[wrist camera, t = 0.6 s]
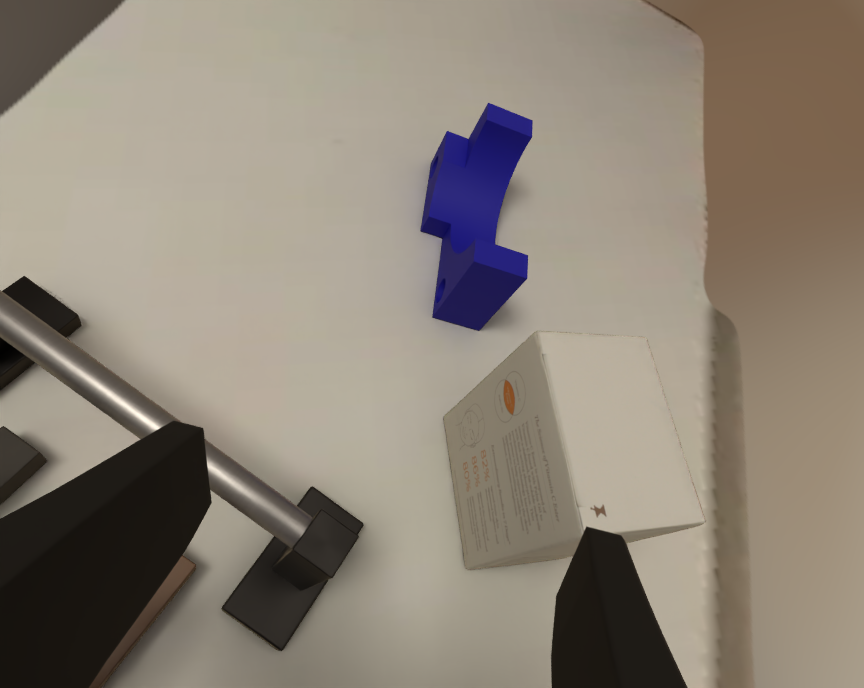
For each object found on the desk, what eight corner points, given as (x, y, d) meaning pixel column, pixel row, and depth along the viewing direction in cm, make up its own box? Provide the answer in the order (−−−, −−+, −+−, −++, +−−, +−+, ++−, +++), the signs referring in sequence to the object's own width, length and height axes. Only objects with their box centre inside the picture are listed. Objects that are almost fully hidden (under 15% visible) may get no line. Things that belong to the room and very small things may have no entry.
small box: (559, 560, 30) (712, 529, 21) (461, 572, 27) (585, 543, 19) (529, 413, 33) (651, 333, 24) (440, 414, 31) (536, 326, 22)
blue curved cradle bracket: (430, 163, 39) (465, 93, 34) (490, 184, 40) (532, 120, 35) (408, 310, 33) (445, 252, 28) (478, 330, 34) (527, 278, 29)
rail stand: (279, 651, 23) (308, 658, 17) (-101, 378, 23) (-215, 281, 17) (359, 527, 27) (409, 494, 20) (29, 286, 26) (-25, 175, 20)
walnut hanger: (19, 791, 19) (-56, 856, 14) (-26, 760, 19) (-118, 813, 14) (196, 568, 24) (195, 548, 18) (161, 543, 24) (149, 515, 18)
